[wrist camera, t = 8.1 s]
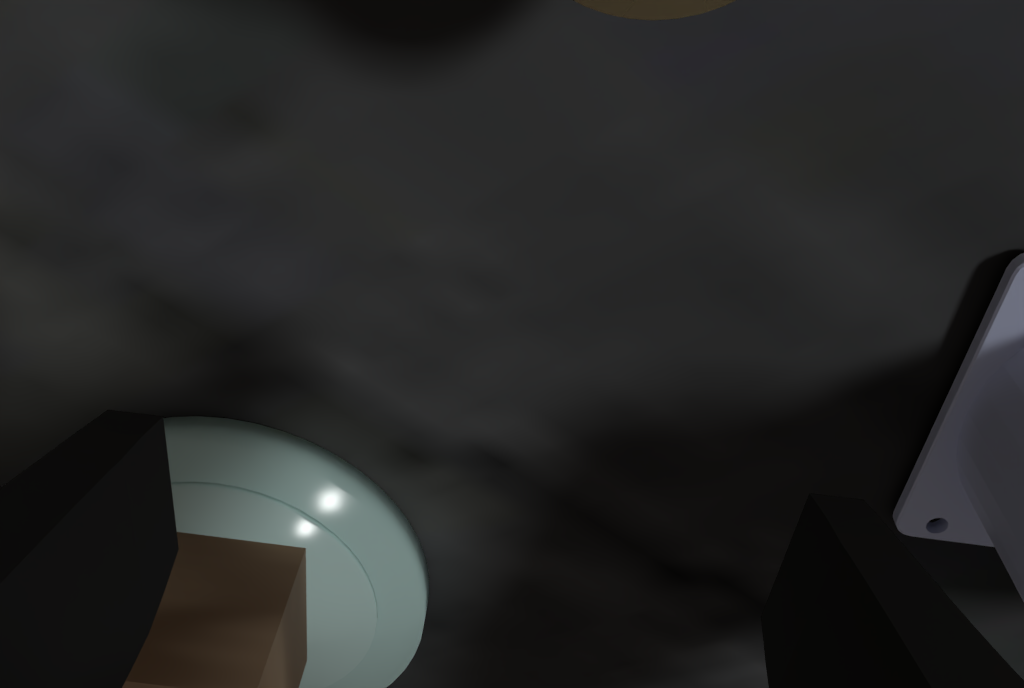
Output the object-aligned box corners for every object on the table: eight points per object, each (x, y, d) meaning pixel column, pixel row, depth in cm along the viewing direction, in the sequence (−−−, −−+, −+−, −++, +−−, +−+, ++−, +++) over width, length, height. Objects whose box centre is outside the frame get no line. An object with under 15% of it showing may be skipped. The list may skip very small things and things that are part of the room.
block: (305, 547, 24) (254, 697, 20) (307, 659, 26) (261, 811, 22) (133, 525, 24) (49, 671, 20) (150, 640, 26) (78, 788, 22)
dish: (443, 446, 23) (437, 477, 22) (417, 713, 29) (412, 747, 28) (11, 389, 23) (-15, 419, 22) (73, 669, 29) (55, 702, 28)
